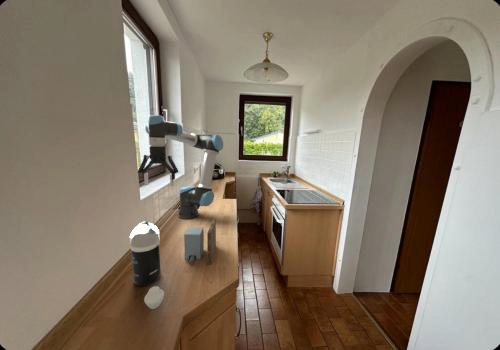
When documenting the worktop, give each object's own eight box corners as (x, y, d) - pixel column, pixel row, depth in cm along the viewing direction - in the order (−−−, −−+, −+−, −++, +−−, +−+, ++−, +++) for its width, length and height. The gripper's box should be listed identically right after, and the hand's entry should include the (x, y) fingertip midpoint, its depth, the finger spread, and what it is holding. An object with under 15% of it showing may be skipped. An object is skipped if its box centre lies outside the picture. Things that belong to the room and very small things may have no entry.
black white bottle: (141, 291, 69) (137, 230, 65) (128, 280, 74) (123, 222, 70) (166, 275, 78) (163, 220, 74) (152, 266, 83) (149, 214, 79)
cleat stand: (197, 245, 101) (196, 218, 99) (215, 245, 102) (215, 218, 99) (188, 264, 86) (187, 232, 83) (210, 264, 86) (210, 232, 83)
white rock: (143, 303, 64) (142, 286, 63) (162, 295, 68) (161, 278, 67) (146, 316, 59) (145, 298, 58) (166, 306, 63) (166, 288, 62)
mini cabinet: (189, 249, 97) (189, 226, 95) (203, 249, 98) (203, 227, 96) (184, 259, 89) (184, 234, 87) (200, 259, 90) (199, 234, 88)
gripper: (128, 145, 92) (131, 186, 96) (178, 146, 93) (180, 187, 97) (137, 145, 100) (139, 183, 103) (183, 146, 101) (184, 184, 104)
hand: (159, 185), depth 100 cm, fingers open, 13 cm apart
